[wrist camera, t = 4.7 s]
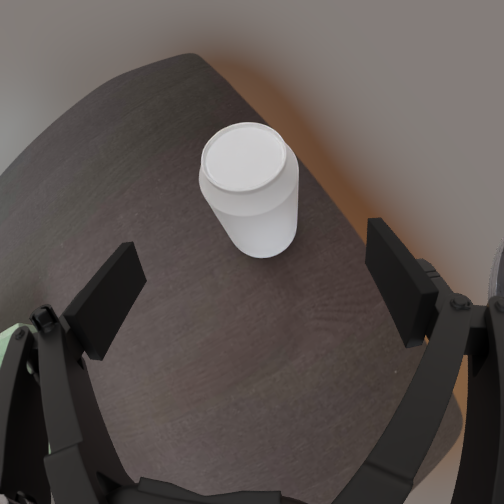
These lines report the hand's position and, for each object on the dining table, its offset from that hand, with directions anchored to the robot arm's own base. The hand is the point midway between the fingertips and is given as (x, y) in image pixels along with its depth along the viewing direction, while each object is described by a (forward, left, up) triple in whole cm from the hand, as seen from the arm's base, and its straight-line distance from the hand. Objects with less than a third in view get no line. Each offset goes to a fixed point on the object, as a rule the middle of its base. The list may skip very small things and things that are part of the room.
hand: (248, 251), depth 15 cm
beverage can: (+5, -2, -11) cm, 12 cm away
